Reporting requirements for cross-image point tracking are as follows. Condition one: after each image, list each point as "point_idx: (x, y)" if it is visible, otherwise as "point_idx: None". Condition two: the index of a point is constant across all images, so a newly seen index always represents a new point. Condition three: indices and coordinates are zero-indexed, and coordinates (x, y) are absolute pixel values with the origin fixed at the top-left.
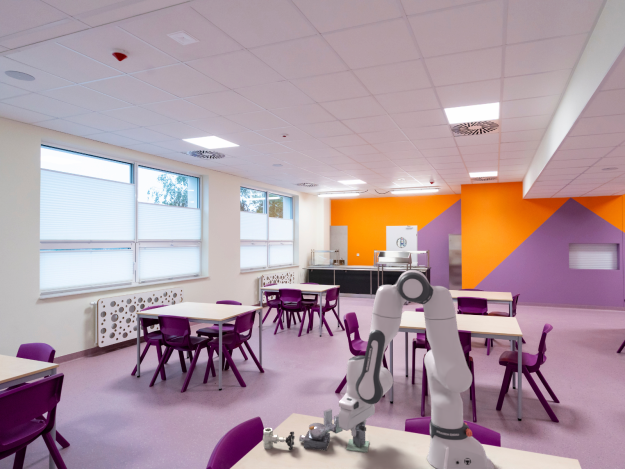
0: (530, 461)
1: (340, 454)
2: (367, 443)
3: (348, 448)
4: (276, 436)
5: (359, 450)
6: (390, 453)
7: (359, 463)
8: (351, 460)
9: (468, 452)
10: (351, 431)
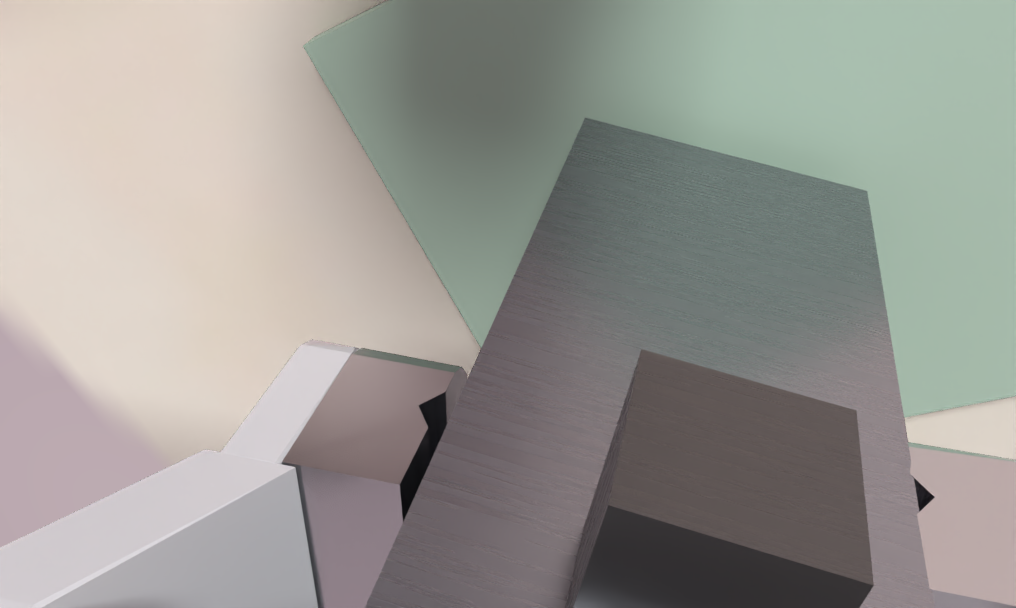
0: None
1: (63, 12)
2: (935, 385)
3: (368, 74)
4: None
5: (481, 341)
6: None
7: (162, 457)
8: (111, 318)
9: None
10: (230, 440)
